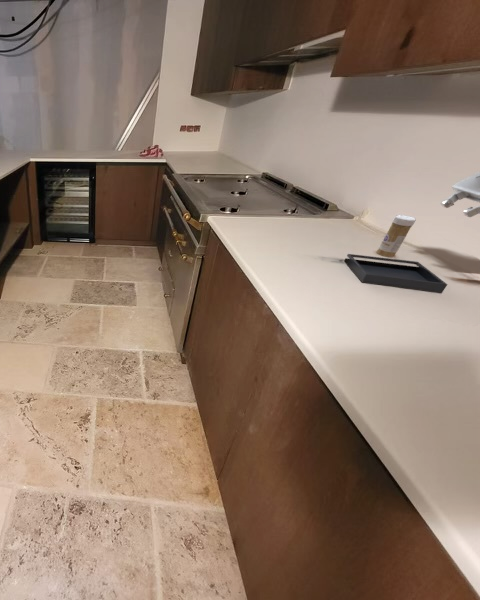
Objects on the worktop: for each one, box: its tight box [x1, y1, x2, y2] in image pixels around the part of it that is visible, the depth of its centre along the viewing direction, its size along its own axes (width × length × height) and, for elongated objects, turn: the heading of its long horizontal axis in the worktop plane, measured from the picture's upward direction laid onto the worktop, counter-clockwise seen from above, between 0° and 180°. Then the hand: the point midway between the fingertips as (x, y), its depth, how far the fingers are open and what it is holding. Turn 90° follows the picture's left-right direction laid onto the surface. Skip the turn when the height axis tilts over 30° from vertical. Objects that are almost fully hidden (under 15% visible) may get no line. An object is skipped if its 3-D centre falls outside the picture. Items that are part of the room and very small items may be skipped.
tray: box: [344, 253, 449, 294], centre depth 89 cm, size 17×14×2 cm
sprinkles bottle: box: [376, 214, 416, 258], centre depth 95 cm, size 5×5×14 cm
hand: (453, 210), depth 88 cm, fingers open, 8 cm apart
